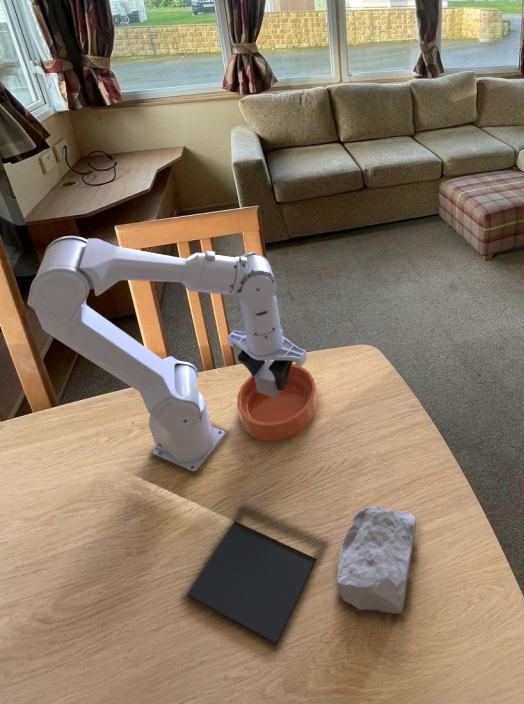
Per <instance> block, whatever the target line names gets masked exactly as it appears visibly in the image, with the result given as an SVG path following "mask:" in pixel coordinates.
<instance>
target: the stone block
mask: <svg viewBox="0 0 524 704" xmlns="http://www.w3.org/2000/svg"><path fill="white" fill-rule="evenodd" d="M416 521H417V520H416V517H415V516H414V515H413V514H411V513H409V512H408V511H407V512H404V511H401V510H394V509H389V508H385V507H381V506H373V505H371V506H365V507H364V508H363V509H359V510H358V511H357V512H356V513H355V514H354V515H353V517H352V523H351V526H350V527H349V528H348V530H347V532H346V535H345V537H344V540H343V542H342V546H341V549H340V551H339V555H338V565H337V575H336V588H337V589H336V590H337V591H338V593H339V595H340V597H341V598H342V600H343V601H344V602H345V603H348V604H350V605H351V606H353V607H355V609H358V610H359V611H360V610H361V611H365V610H368V611H378V612H381V613H389V614H397V615H398V614H401V613H402V612H403V610H404V605H405V597H406V592H407V585H408V579H409V574H410V573H409V572H410V567H411V561H412V552H413V547H414V542H415V536H416V531H417V530H416V528H417V522H416Z"/></svg>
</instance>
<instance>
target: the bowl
mask: <svg viewBox="0 0 524 704" xmlns="http://www.w3.org/2000/svg"><path fill="white" fill-rule="evenodd" d="M317 395H318V394H317V389H316V382H315V379H314V377H313V376H312V374H311V372H310V371H309V370H307V369H306V368H304V367H303V366H301V367H299V366H296V363H295V364H294V363H292V365H291V368H290V371H289V376H288V384H287V385H286V386H285V388H284V389H283V390H282V391H281V393H280V394H279V396H278V397H277V398H273V397H270V396H267V395H264V394H261V393H258V392H257V388H256V383H255V379H254V378H253V376H252V374H251V375H250V376H249V377H247V379H246V380H245V381H244V382H243V384H242V385H240V388H239V391H238V393H237V396H236V397H237V398H236V399H237V400H236V406H237V411H238V415H239V420H240V423H241V425H242V427H243V430H244V431H245V432H247V433H248V434H249V435H250V436H251V437H252V438H255V439H258V440H261V441H270V442H276V441H281V440H284V439H289V438H290V437H292V436H295V435H296V434H299V433H300V432H301V431H303V430H304V428H306V427H307V426H308V425H309V424H310V423H311V421H312V420H313V418H314V416H315V415H316V412H317V407H318V396H317Z"/></svg>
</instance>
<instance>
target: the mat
mask: <svg viewBox="0 0 524 704" xmlns="http://www.w3.org/2000/svg"><path fill="white" fill-rule="evenodd" d="M316 561H317V558H316V557H314V556H312V555H309V554H307V553H305V552H303V551H301V550H299V549H297V548H294V547H292V546H291V545H288V544H286V543H283V542H281V541H279V540H277V539H275V538H273V537H271V536H268V535H266V534H264V533H262V532H259V531H257V530H256V529H253V528H250V527H248V526H247V525H244V524H242V523H240V522H237V521H235V520H234V521H233V523H232V524H231V526H230V527H229V529H228V531H227V532H226V534H225V535H224V537H223V538H222V540H221V542H220V543H219V545H218V546H217V548H216V549H215V551H214V552H213V554H212V555H211V557H210V559H209V560H208V562H207V564H206V565H205V567H203V570H202V571H201V572H200V575H199V576H198V577H197V579H196V580H195V582H194V583H193V585H192V587H191V588H190V590H189V591H188V593H187V596H188V598H190V599H193V600H194V601H196V602H198V603H200V604H201V605H203V606H205V607H207V608H208V609H211V610H212V611H214V612H216V613H218V614H220V615H222V616H223V617H226V618H227V619H229V620H231V621H232V622H234V623H236V624H238V625H239V626H242V627H243V628H245V629H247V630H248V631H250V632H253V633H254V634H256V635H258V636H259V637H261V638H264V639H265V640H266V641H269V642H271V643H273V644H274V645H277V644H278V642H279V640H280V638H281V636H282V633H283V631H284V630H285V627H286V625H287V623H288V621H289V619H290V616H291V615H292V612H293V610H294V608H295V606H296V604H297V603H298V600H299V598H300V596H301V594H302V591H303V589H304V586H305V585H306V584H307V583H306V582H307V580H308V579H309V576H310V574H311V572H312V569H313V567H314V565H315V563H316Z"/></svg>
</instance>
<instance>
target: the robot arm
mask: <svg viewBox="0 0 524 704" xmlns="http://www.w3.org/2000/svg"><path fill="white" fill-rule="evenodd" d="M120 281H137V282H140V281H141V282H164V283H165V282H166V283H181V284H182V285H183V286H184V287H185V288H186V289H187V290H188V291H189V292H196V293H206V294H216V295H227V296H237V297H238V299H239V301H240V310H241V311H240V312H241V316H242V321H243V326H244V331H243V330H236V329H234V330H233V331H232V332H231V333H229V335H228V336H227V342H228V346H229V347H235V346H237V347H238V348H240V353H239V354H238V355H237V361H238V362H240V363H241V364H242V365H243V366H244V367H245V368H246V369H247V370H248V372H249V373H250V374H251V375H252V376H253V378H254V375H255V374H256V373H257V372H258V370H259V369H260V368H261V367H262V365H263V364H264V363H265V362H266V360H270V361H273V363H272V364H271V365H270V367H269V370H270V371H271V372H272V374H273V375H274V378H275V381H276V385H277V388H278V390H280V391H282V390H283V389H284V388H285V386H286V385H287V384H288V376H289V371H290V368H291V365H292V364H294V363H295V365H296V366H299V367H303V365H304V364H305V363H306V361H307V360H308V358H307V351H306V350H305V349H302V348H300V347H299V346H297V345H295V344H294V343H292V342H291V341H290V340H289V339H287V338H286V337H285V336H283V335H284V330H283V329H282V327H281V320H280V319H281V318H280V314H279V313H280V312H279V306H278V300H277V296H276V292H277V290H278V283H276V279H275V276H274V273H273V271H272V267H271V265H270V262H269V261H268V259H267V258H266V257H265V256H264V255H262V254H260V253H256V252H253V251H252V252H247V253H245V254H242V255H239V256H234V257H233V256H226V255H220V254H219V255H218V254H216V252H215V251H212V250H206V251H205V253H203V252H195V253H193V254H191V255H190V256H188V257H186V258H181V257H177V256H171V255H165V254H161V253H154V252H148V251H144V250H138V249H132V248H127V247H121V246H117V245H114V244H111V243H110V242H107V241H104V240H102V239H100V238H87V239H86V238H84V237H81V236H78V235H77V236H76V235H67V236H62V237H58V238H56V239H54V240H53V241H52V242H50V243H49V244H48V246H47V247H46V248H45V251H44V254H43V259H42V261H41V264H40V267H39V269H38V271H37V274H36V276H35V277H34V279H33V280H32V282H31V283H30V284H31V285H30V288H29V292H28V298H27V305H28V306H29V307H31V309H33V310H34V312H35V315H36V317H37V319H38V321H39V325H40V326H41V328H42V330H43V331H44V332H45V333H46V334H48V335H49V336H51V337H53V338H54V339H56V340H57V341H59V342H60V343H62V344H64V345H65V346H66V347H68V348H70V349H71V350H73V351H75V352H76V353H78V354H79V355H80V356H83V357H84V358H85V359H87V360H88V361H89V362H91V363H93V364H95V365H96V366H98V367H100V368H101V369H103V370H104V371H106V372H107V373H109V374H110V375H112V376H114V377H115V378H117V379H118V380H120V381H122V382H123V383H124V384H126V385H128V386H129V387H130V388H132V389H133V390H136V391H137V392H139V394H140V396H141V398H142V401H143V404H144V406H145V409H146V410H147V412H148V413H149V418H148V428H149V430H150V433H151V436H152V439H153V441H154V444H155V447H156V448H155V449H154V450H153V451H152V454H153V455H155V456H157V457H160V458H161V459H164V460H166V461H168V462H171V463H173V464H176V465H178V466H180V467H182V468H185V469H187V470H188V471H191V472H196V471H197V470H198V469H199V468H200V467H201V465H202V464H203V463H204V462H205V460H207V457H209V455H210V454H211V452H213V450H214V449H215V447H216V446H217V445H218V444H219V442H220V441H221V440H222V438H223V437H224V436H225V435H226V432H225V431H224V430H221V429H220V428H217V427H214V426H212V422H211V418H210V414H209V411H208V407H207V403H206V399H205V397H204V395H203V394H202V393H201V392H200V391H199V387H198V377H199V372H198V369H197V367H196V366H195V365H194V364H193V363H191V362H188V361H181V360H178V359H176V358H175V357H173V356H171V355H170V356H168V357H165V358H161V357H160V356H158V355H157V354H156V353H154V352H153V351H151V350H150V349H149V348H147V347H146V346H144V345H143V344H141V343H140V342H139V341H137V340H136V339H135V338H133V337H132V336H130V335H129V334H127V332H125V331H123V330H122V329H121V328H119V327H118V326H116V325H115V324H114V323H112V322H111V321H109V320H108V319H107V318H105V317H103V316H102V315H101V314H100V313H98V312H97V311H95V310H94V309H93V308H91V307H90V306H89V305H88V304H87V299H88V296H89V294H90V290H92V289H93V290H94V295H95V297H98V296H100V295H101V294H103V293H105V292H106V291H107V290H109V289H110V288H111V287H113V286H114V285H116V284H117V283H118V282H120ZM293 362H294V363H293ZM254 379H255V378H254ZM220 432H221V433H220ZM192 467H193V468H192Z"/></svg>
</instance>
